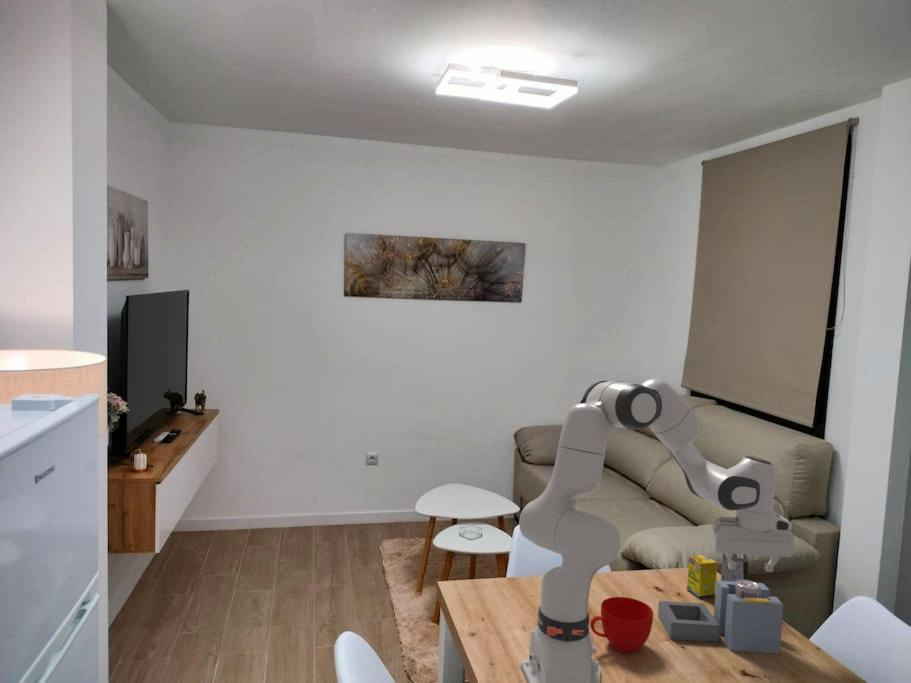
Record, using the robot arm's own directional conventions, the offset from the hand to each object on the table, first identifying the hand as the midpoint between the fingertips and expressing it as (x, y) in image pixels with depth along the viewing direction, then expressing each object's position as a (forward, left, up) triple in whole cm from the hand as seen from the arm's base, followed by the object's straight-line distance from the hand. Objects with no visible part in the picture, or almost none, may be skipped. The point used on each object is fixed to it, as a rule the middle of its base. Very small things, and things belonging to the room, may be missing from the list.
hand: (750, 570), depth 175 cm
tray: (+4, +14, -19) cm, 24 cm away
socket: (0, 0, -19) cm, 19 cm away
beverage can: (0, 0, -19) cm, 19 cm away
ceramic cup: (-8, +35, -19) cm, 41 cm away
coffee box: (+18, -3, -19) cm, 26 cm away
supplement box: (+27, +3, -19) cm, 33 cm away
